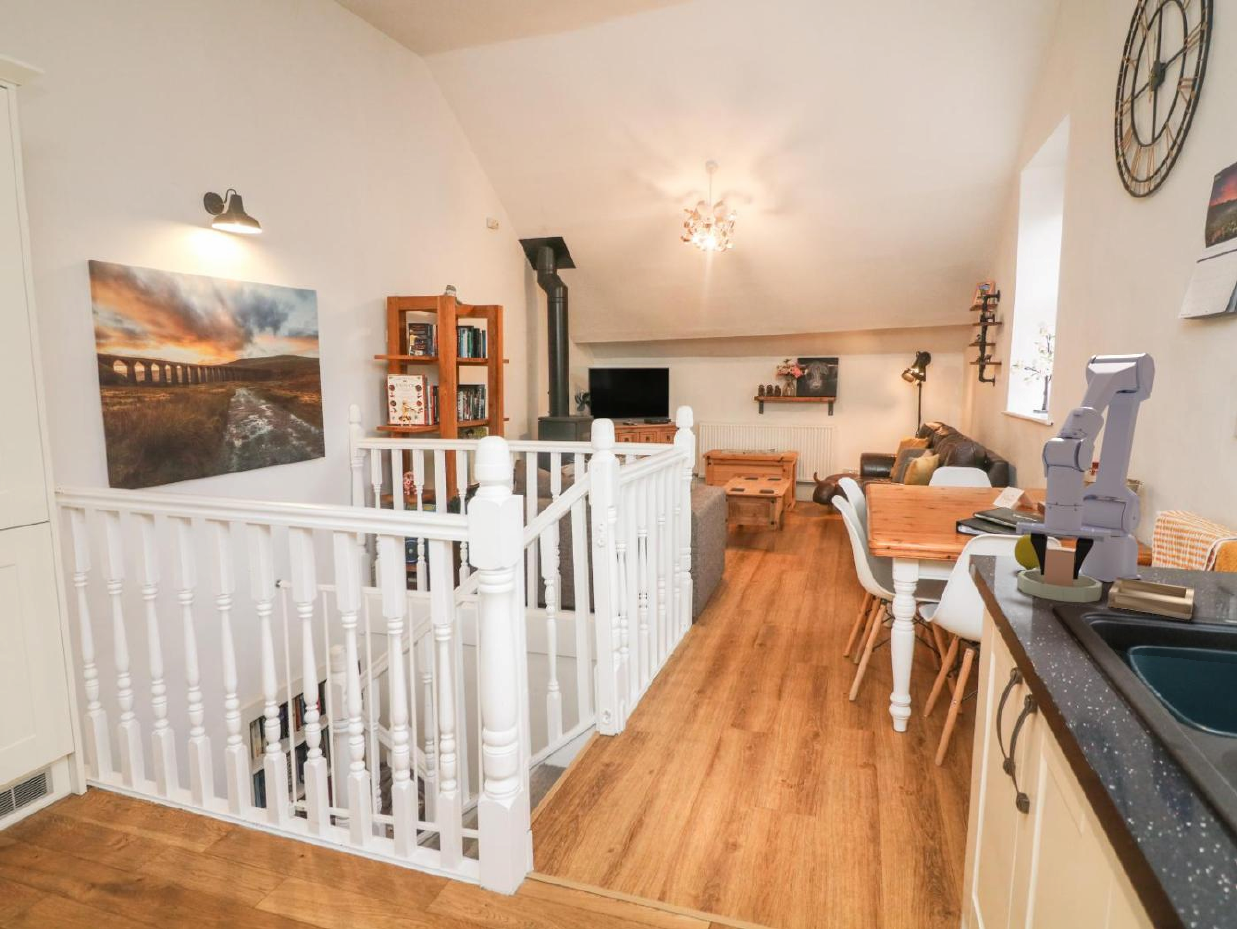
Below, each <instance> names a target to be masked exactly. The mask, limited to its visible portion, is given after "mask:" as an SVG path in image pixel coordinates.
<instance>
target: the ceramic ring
mask: <svg viewBox="0 0 1237 929" xmlns="http://www.w3.org/2000/svg"><path fill="white" fill-rule="evenodd" d="M1016 588H1018V589H1019V590H1020V591H1021V592H1023V593H1025V594H1028V595H1031V596H1033V597H1034V596H1035V597H1037V598H1040V599H1047V600H1052V601H1060V602H1068V603H1069V602H1070V603H1071V602H1072V603H1090V602H1097V601H1100V600H1101V598H1102V592H1103V581H1101V580H1097V579H1095V578H1092V577H1088V576H1085V575H1081V574H1079V575H1078V580H1075V579H1074V585H1073V587H1066V586H1058V585H1051V584H1045V583H1044V575H1041V571H1040V568H1039V569H1037V568H1034V569H1032V570H1026V569H1025V570H1021V571H1020V572H1019V573H1017V581H1016Z"/></svg>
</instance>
